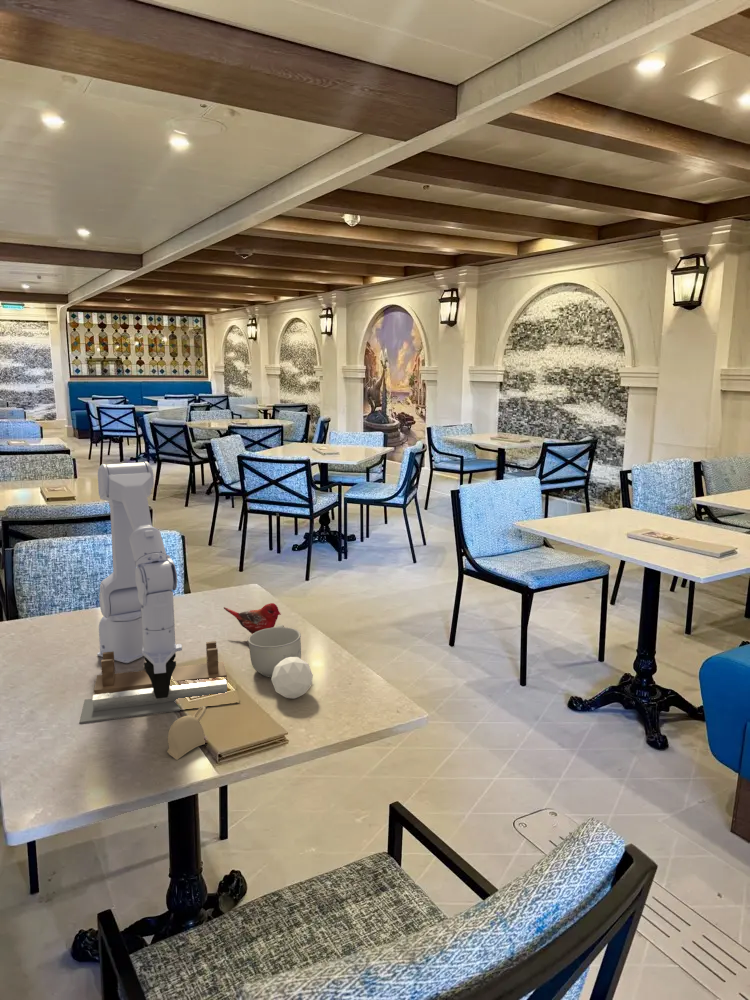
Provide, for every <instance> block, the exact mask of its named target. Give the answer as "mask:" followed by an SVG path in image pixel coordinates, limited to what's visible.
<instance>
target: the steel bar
mask: <svg viewBox="0 0 750 1000" xmlns="http://www.w3.org/2000/svg"><path fill="white" fill-rule="evenodd" d="M227 683H228V682H227V680H226V679H223V680H214V681H206V682H197V683H189V684H181V685H172V686H170V687H169V694H168V697H167V698H158V699H156V697H155V694H154V690H153V688H147V689H138V690H130V691H121V692H113V693H104V694H96V695H94V694H93V695H92V699H93V700H92V701H93V711H100V710H108V709H116V708H124V707H132V706H140V705H148V704H156V703H164V702H172V701H175V700H176V699H178V698H185V697H192V696H202V695H209V694H218V693H225V692H227Z"/></svg>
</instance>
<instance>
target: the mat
mask: <svg viewBox="0 0 750 1000" xmlns="http://www.w3.org/2000/svg"><path fill="white" fill-rule="evenodd" d="M92 700H93V698H86V699H84V700H83V706H82V709H81V713H80V718H79V722H78V723H79V724H87V723H95V722H101V721H102V722H103V721H109V720H111V721H112V720H118V719H127V718H134V717H141V716H149V715H157V714H158V715H159V714H166V713H173V712H174V713H175V712H181V711H180V710H181V709H180V708H179V706H178V705H177V704H176V703H175V702H174V701H172V702H164V703H156V704H148V705H140V706H132V707H124V708H116V709H108V710H100V711H93V701H92Z"/></svg>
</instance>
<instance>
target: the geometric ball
mask: <svg viewBox="0 0 750 1000" xmlns="http://www.w3.org/2000/svg"><path fill="white" fill-rule="evenodd" d="M313 676H314V674H313V672H312V670H311V666H310V664H309V663H308V662H307V661H306V660H304V659H302V658H301V659H300V658H299V657H288V658H285V659H283V660H282V661H280V662H279V663H278V664H277V665H276V666H275V668H274V671H273V675H272V677H271V680H270V681H271V683H272V685H273V688H274V691H275V692H276V693H278V694H279V695H281V696H282V697H284V698H286V699H297V698H300V697H301V696H303V695H305V694H306V693H307V692H308V690H309V689H310V687H311V686H312V683H313Z"/></svg>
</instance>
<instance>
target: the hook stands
mask: <svg viewBox="0 0 750 1000" xmlns="http://www.w3.org/2000/svg"><path fill="white" fill-rule="evenodd" d="M205 645H206V646H205V647H206V648H205V649H206V651H205V653H206V663H200V664H190V665H182V666H181V665H180V666H176V667H175V669H174V671H173V673H172V676H173V679H174V680H173V679H172V680H173V681H185V680H197V679H198V680H199V679H209V678H216V677H227V670H226V666H225V662H224V661H219V653H218V652H219V649H218V647H217V641H216V640H214V641H213V640H212V641H205ZM100 663H101V674H99V675H98V674H97V675H96V678H95V682H94V683H95V684H94V689H93V695H96V694H104V693H113V692H121V691H130V690H138V689H147V688H153V686H152V683H151V680H150V678H149V676H148V674H147V673H146V671H145V669H143V670H136V671H135V670H134V671H126V672H117V673H116V670H115V669H116V668H115V660H114V651H113V652H103V657H102V659H101V661H100ZM171 682H172V681H171Z"/></svg>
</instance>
